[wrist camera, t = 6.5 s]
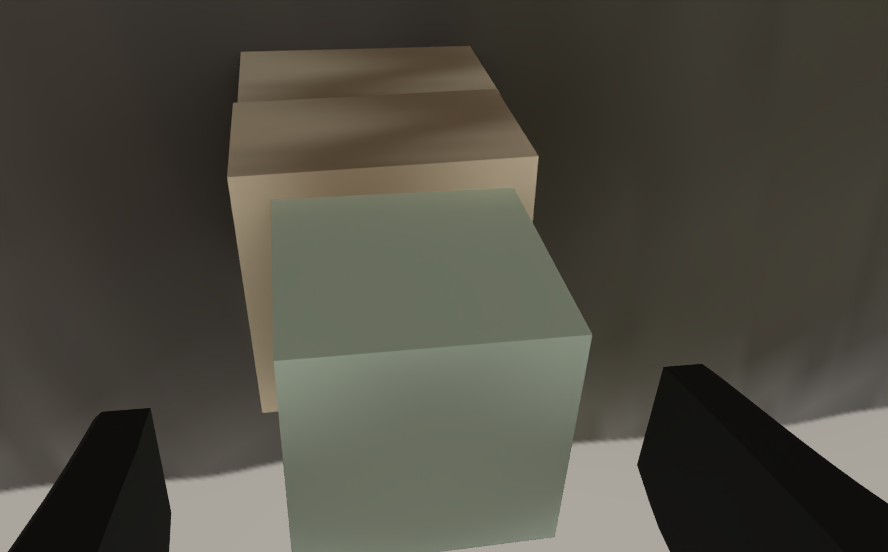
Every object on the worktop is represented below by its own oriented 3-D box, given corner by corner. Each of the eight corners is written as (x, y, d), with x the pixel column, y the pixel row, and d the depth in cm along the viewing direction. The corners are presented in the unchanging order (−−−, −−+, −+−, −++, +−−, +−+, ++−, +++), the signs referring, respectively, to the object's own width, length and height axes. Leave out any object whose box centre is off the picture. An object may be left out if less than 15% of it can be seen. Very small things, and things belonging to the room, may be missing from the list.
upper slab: (496, 88, 16) (538, 156, 13) (484, 296, 19) (517, 384, 16) (233, 103, 15) (227, 177, 13) (262, 318, 18) (262, 412, 15)
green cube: (513, 187, 14) (592, 334, 10) (495, 369, 16) (554, 537, 13) (271, 199, 13) (273, 361, 10) (287, 387, 15) (293, 570, 12)
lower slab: (468, 43, 18) (499, 93, 16) (458, 233, 21) (483, 300, 19) (240, 49, 17) (238, 103, 15) (262, 246, 20) (261, 318, 18)
